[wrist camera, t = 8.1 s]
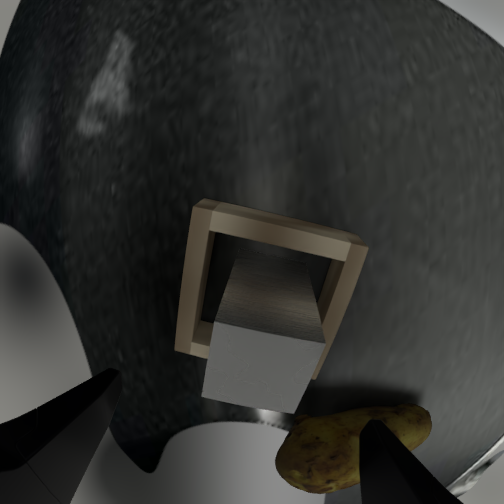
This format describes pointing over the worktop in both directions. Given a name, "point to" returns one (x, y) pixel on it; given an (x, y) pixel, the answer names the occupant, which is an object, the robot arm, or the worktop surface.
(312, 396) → the worktop surface
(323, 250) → the frame
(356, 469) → the potato
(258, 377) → the brushed grey square prism
